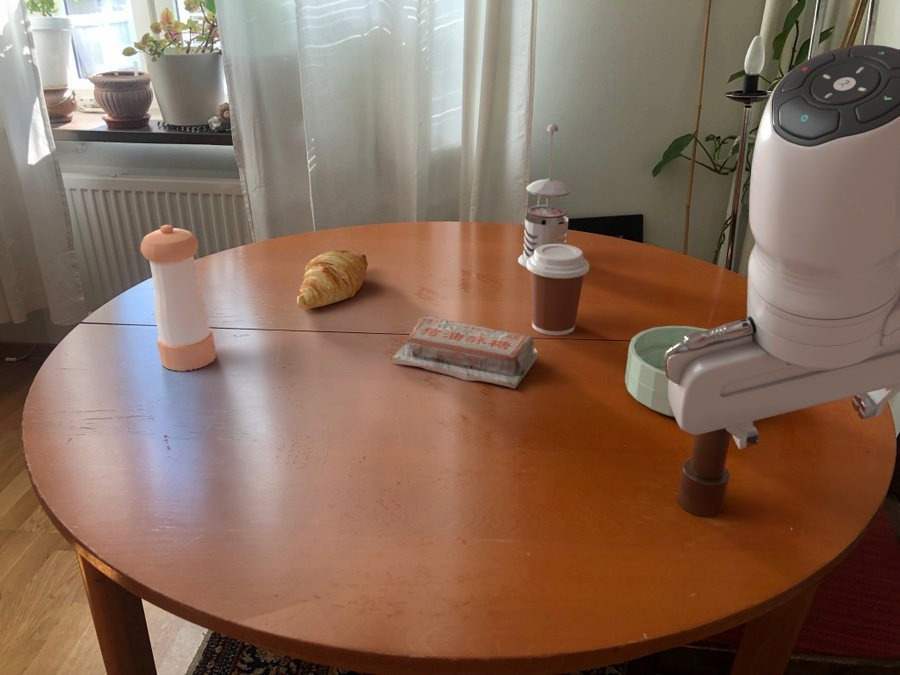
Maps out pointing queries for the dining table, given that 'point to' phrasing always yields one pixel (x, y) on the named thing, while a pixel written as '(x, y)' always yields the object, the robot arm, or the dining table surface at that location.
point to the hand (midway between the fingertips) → (804, 425)
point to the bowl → (653, 365)
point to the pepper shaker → (178, 300)
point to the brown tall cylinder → (706, 475)
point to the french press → (545, 213)
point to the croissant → (331, 278)
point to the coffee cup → (556, 287)
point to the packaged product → (468, 351)
